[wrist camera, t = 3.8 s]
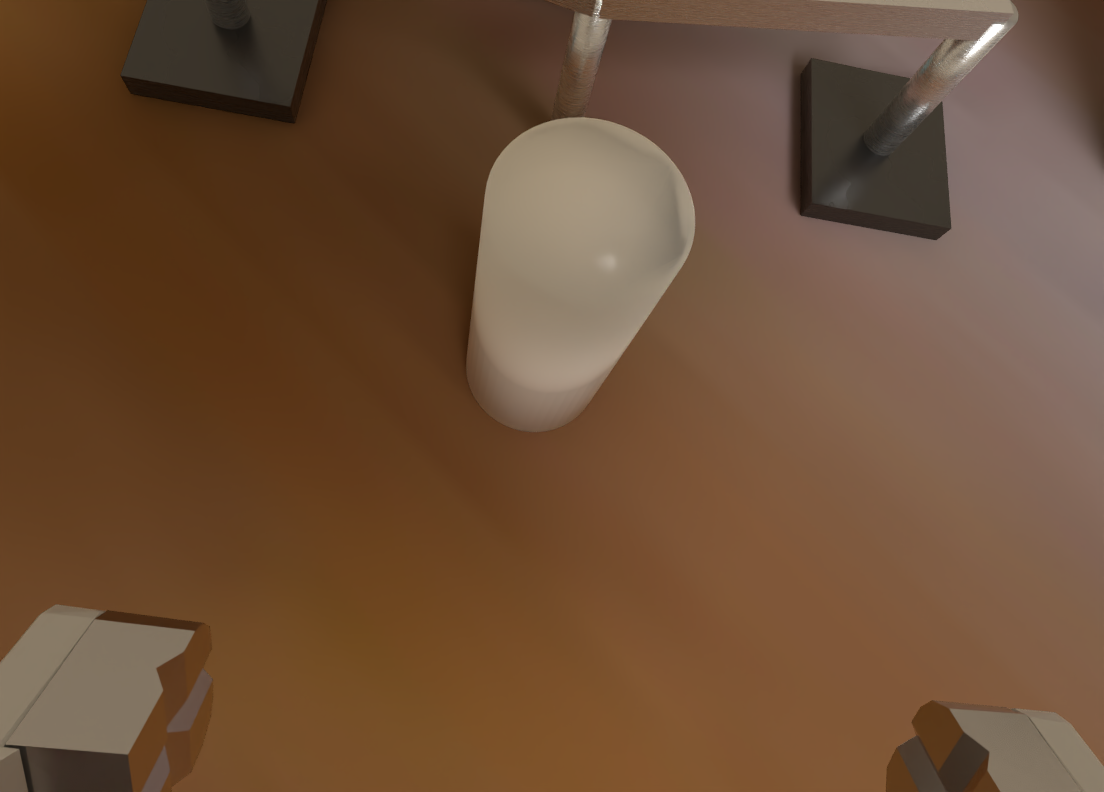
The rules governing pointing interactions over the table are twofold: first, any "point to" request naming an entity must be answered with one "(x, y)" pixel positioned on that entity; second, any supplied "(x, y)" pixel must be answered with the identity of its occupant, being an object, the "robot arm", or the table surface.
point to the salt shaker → (570, 265)
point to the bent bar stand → (776, 3)
